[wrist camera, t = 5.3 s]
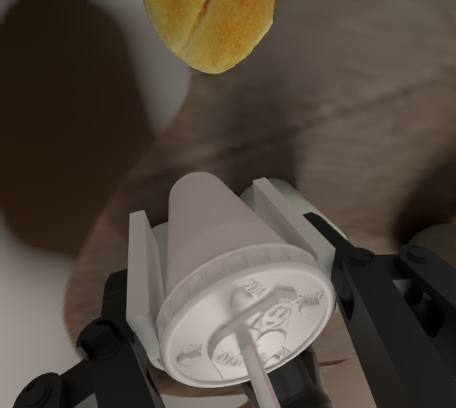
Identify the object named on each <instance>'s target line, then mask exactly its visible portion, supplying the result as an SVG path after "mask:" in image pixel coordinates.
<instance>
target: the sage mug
mask: <svg viewBox="0 0 456 408" xmlns="http://www.w3.org/2000/svg"><path fill="white" fill-rule="evenodd" d="M267 180H268V181H269V182H270V183H271V184H272V185H273V186H274V187H275V188H276V189H277V190H278V191H279V192H280V193H281V194H282V195H283V196H284V197H285V198H286V199H287V200H288V201H289V202H290V203H291V204H292V205H293V206H294V207H295V208H296V209H297V210H298V211H299V212H300V213H301V214H302V215H303V214H306V213H309V212H313V213H315V214H317V215H319V216H321V217H322V218H323V219H324V220H326V221H327V222H328V224H330V225H331V226H332V227H333V229H335V230H337V231H338V232H339V233H340V234H341V235H342V236H343V237H344V238H345V239H346V240H347V238H346V236H345V235H344V234H343V233H342V232H341V231H340V230H339V229H338V228H337V227H336V226H335V225H334V224H333V223H331V222H330V221H329V220H328V219H327V218H326V217H325V216H324V215H323V214H322V213H321V212H319V211H318V210H317V209H316V208H315V207H314V206H313V205H312V204H311V203H310V202H309V201H308V200H306V199H305V198H304V197H303V196H302V195H301V194H300V193H299V192H298V191H297V190H296V189H294V188H293V187H292V186H291V185H290V184H289V183H288V182H286V181H284V180H281V179H274V178H273V179H267ZM239 198H240V199H241V200H242V201H243V202H244V203H245V204H246V205H247V206H248V207H249V208H250V209H251V210H252V211H253V212H254V213H255V214H256V211H255V199H254V188H253V185H251V186H250V187H248V188H247V189H246V190H245V191H244V192H243V193H242V194H241V195H240V196H239Z"/></svg>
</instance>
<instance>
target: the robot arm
mask: <svg viewBox="0 0 456 408" xmlns="http://www.w3.org/2000/svg"><path fill="white" fill-rule="evenodd" d="M253 188H254V199H255V211H256V215H257V216H258V217H260V218H261V219H262V220H263V221H264V222H265V223H266V224H267V225H268V226H269V227H270V228H271V229H272V230H273V231H275V232H276V233H277V234H278V235H279V236H280V237H281V238H282V239H283V240H284V241H285V242H286V243H287V244H290V245H295V246H297V247H299V248H301V249H303V250H305V251H307V252H309V253H310V254H311V255H312V256H313V257H314V258H315V260H316V261H317V262H318V263H319V264H320V267H321V270H322V271H323V272H324V273H325V274H326V275H327V276H328V278H329V279H330V280H331V282H332V284H333V287H334V290H335V291H336V293H337V294H336V301H335V307H334V308H335V312H338V307H339V308H340V311H341V314H342V316H343V319H344V322H345V324H346V327H347V330H348V332H349V335H350V337H351V340H352V343H353V345H354V348H355V351H356V353H357V356H358V358H359V361H360V364H361V366H362V369H363V372H364V374H365V377H366V380H367V382H368V385H369V387H370V390H371V393H372V396H373V398H374V401H375V404H376V406H377V408H456V269H455V268H454V267H452V266H451V265H450V264H448V263H447V262H446V261H444V260H443V259H442V258H440V257H439V256H438V255H437V254H435V253H434V252H433V251H431V250H429V249H428V248H426V247H423V246H420V245H415V244H405V245H402V246H400V247H399V249H398V251H397V254H390V255H375V254H374V253H373V252H371V251H369V250H367V249H363V248H356V247H354V246H353V245H352V244H351V243H350V242H349V241H347V240H346V239H345V238H344V237H343V236H342V235H341V234H340V233H339V232H338V231H337V230H335V229H333V227H332V226H331V225H330V224H328V222H327V221H326V220H324V219H323V218H322V217H321V216H319V215H317V214H315V213H313V212H309V213H306V214H303V215H302V214H301V213H300V212H299V211H298V210H297V209H296V208H295V207H294V206H293V205H292V204H291V203H290V202H289V201H288V200H287V199H286V198H285V197H284V196H283V195H282V194H281V193H280V192H279V191H278V190H277V189H276V188H275V187H274V186H273V185H272V184H271V183H270V182H269V181H268V180H267V179H266V178H265V177H264V178H260V179H257V180H253ZM425 294H426V295H427V296H426V295H425ZM428 296H429V297H430V298H429V297H428ZM163 301H164V294H163V285H162V276H161V268H160V259H159V250H158V245H157V243H156V240H155V237H154V235H153V232H152V229H151V227H150V224H149V222H148V219H147V216H146V214H145V211H144V210H141V211H138V212H134V213H130V221H129V250H128V269H125V270H122V271H119V272H115V273H112V274H111V275H110V276H109V278H108V280H107V282H106V283H105V288H104V296H103V305H102V311H101V317H100V318H98V319H95V320H93V321H92V322H91V323H89V324H88V325H87V326H86V327H85V328H84V329H83V330H82V332H81V333H80V335H79V337H78V339H77V342H76V349H77V350H78V351H79V353H80V354H81V355H82V356H83V357H84V358H85V359H83V360H82V361H81V362H79V363H78V364H77V365H75V366H74V367H72V368H71V369H69V370H68V371H66V372H65V373H63V374H62V375H60V376H59V375H58V374H57V373H52V372H50V373H46V374H42V375H40V376H39V377H37V378H35V379H33V380H32V381H31V382H30V383H29V384H28V385H27V386H26V387H25V388H24V389H23V390H22V391H21V393H20V394H19V396H18V397H17V399H16V401H15V403H14V406H13V408H165V405H164V403H163V401H162V398H161V396H160V393H159V391H158V389H157V386H156V384H155V381H154V379H153V377H152V374H151V372H150V371H149V369H148V367H147V356H148V357H149V359H150V361H153V360H155V359H158V358H160V356H159V342H158V340H157V338H156V319H157V316H158V314H159V311H160V308H161V306H162V303H163ZM267 375H268V378H269V380H270V382H271V385H272V387H273V390H274V392H275V395H276V397H277V400H278V402H279V405H280V407H281V408H334V406H333V404H332V403H331V400H330V399H329V397H328V395H327V393H326V391H325V388H324V384H323V380H322V377H321V373H320V369H319V365H318V361H317V357H316V354H315V351H314V350H313V348H312V346H311V344H310V345H309V346H308V347H307V348H305V349H304V350H303V351H302V352H300V353H299V354H298V355H297V356H296V357H294V358H293V359H291V360H290V361H288V362H287V363H285V364H284V365H282V366H280V367H278V368H276V369H275V370H273V371H271V372H269V373H267ZM240 384H241V387H242V389H243V391H244V393H245V394H246V396H247V397H248V399H249V400H250V402H251V404H252V405H253V407H254V408H260V407H259V404H258V401H257V398H256V395H255V392H254V389H253V386H252V384H251V381H250V380H249V381H246V382H243V383H240Z"/></svg>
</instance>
